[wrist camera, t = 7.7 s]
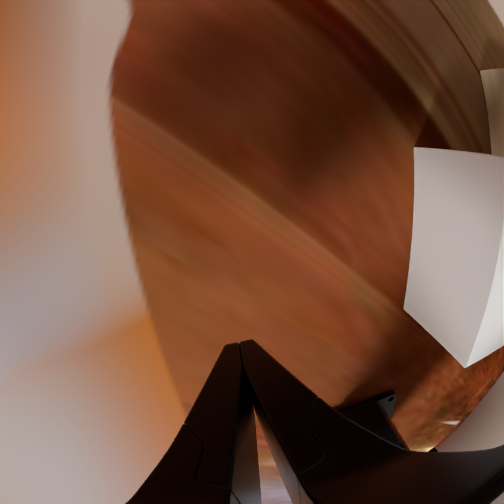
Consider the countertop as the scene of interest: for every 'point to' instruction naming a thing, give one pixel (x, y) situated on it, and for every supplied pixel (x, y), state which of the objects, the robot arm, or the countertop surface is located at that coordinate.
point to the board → (495, 107)
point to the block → (458, 251)
